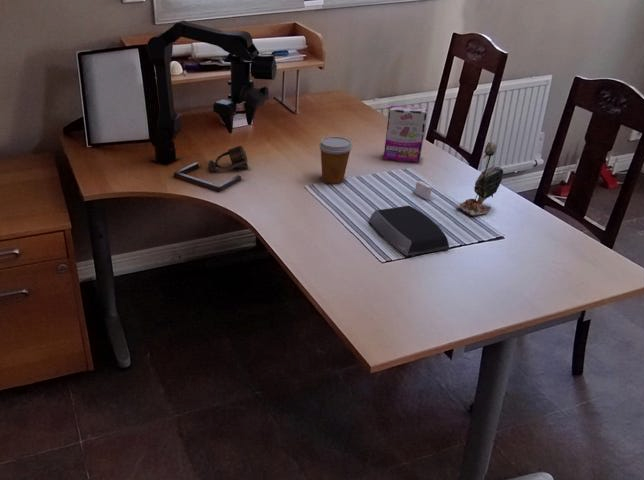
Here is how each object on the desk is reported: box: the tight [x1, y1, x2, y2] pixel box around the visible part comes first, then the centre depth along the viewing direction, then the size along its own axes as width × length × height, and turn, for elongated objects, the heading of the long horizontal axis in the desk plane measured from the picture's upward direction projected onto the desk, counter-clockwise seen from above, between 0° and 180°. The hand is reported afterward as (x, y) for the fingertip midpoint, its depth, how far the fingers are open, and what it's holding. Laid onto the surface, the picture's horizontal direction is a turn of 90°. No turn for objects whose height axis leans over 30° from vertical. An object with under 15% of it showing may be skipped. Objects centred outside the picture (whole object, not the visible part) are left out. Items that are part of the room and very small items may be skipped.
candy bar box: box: [383, 105, 429, 164], centre depth 197 cm, size 11×5×16 cm, turn 68°
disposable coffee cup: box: [318, 136, 353, 185], centre depth 187 cm, size 10×10×12 cm
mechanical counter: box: [207, 144, 249, 172], centre depth 199 cm, size 7×13×10 cm
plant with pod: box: [456, 141, 504, 216], centre depth 165 cm, size 8×11×20 cm
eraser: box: [414, 180, 433, 201], centre depth 177 cm, size 1×5×4 cm, turn 25°
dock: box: [173, 161, 242, 193], centre depth 194 cm, size 18×10×2 cm, turn 48°
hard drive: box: [368, 205, 450, 257], centre depth 158 cm, size 13×19×4 cm
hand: (240, 128), depth 193 cm, fingers open, 9 cm apart
